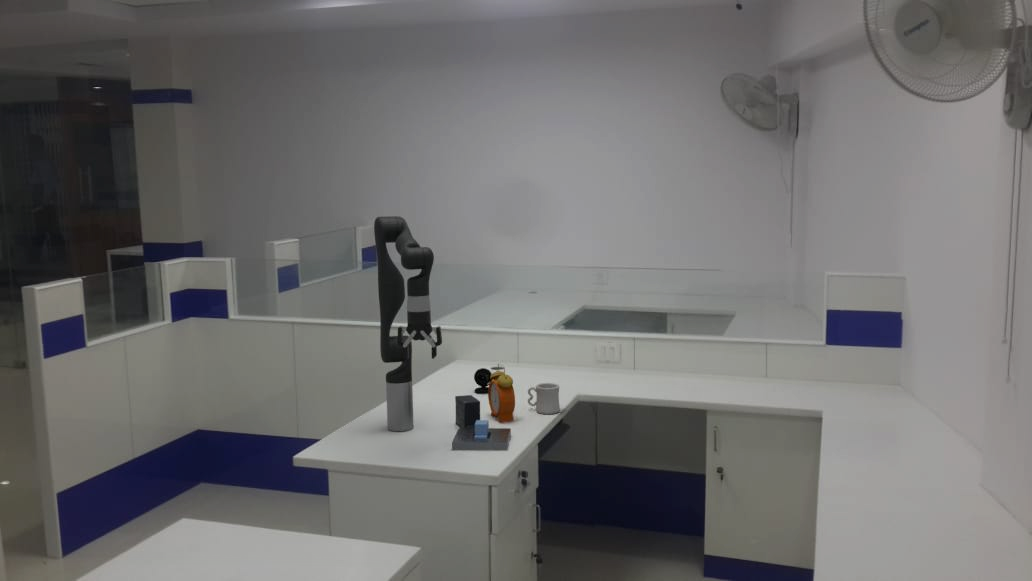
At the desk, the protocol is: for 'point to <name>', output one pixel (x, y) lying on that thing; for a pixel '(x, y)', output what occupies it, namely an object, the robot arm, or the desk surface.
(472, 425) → the small box
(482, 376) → the black desk fan
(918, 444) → the desk surface
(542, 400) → the mug
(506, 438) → the plate
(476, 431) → the block
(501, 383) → the alarm clock
